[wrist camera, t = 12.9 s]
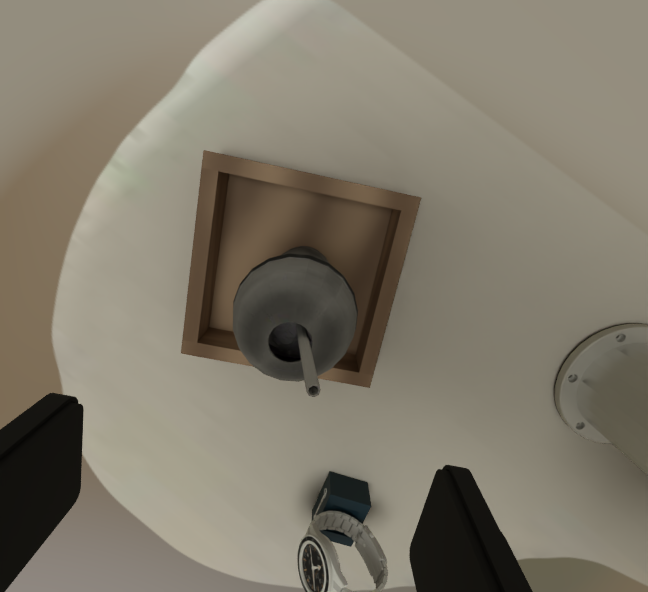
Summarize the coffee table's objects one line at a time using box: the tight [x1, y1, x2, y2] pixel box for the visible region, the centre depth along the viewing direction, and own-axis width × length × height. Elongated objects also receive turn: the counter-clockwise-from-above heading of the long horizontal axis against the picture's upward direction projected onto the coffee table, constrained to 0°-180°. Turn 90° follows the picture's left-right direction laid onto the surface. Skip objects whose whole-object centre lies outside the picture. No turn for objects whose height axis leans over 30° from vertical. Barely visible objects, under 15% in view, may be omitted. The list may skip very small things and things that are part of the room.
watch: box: [298, 472, 388, 592], centre depth 36 cm, size 6×8×11 cm
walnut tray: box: [181, 150, 421, 388], centre depth 32 cm, size 16×16×4 cm
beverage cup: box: [233, 246, 358, 397], centre depth 23 cm, size 7×7×20 cm
